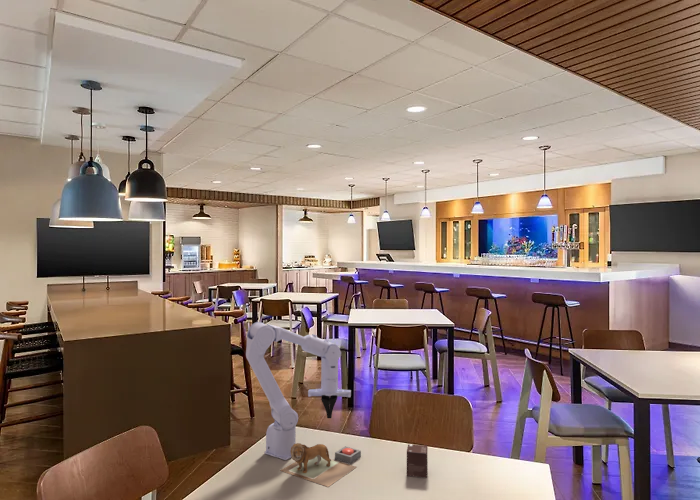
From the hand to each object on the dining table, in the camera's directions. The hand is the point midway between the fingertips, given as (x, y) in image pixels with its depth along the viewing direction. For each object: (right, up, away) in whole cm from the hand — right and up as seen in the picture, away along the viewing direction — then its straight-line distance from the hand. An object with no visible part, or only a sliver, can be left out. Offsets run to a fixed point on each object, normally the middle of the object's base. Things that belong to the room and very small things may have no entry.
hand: (329, 417), depth 164 cm
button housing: (+6, -9, -10) cm, 15 cm away
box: (+27, -10, -20) cm, 35 cm away
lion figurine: (-5, -10, -19) cm, 22 cm away
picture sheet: (-2, -9, -18) cm, 21 cm away
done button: (+6, -8, -10) cm, 15 cm away
